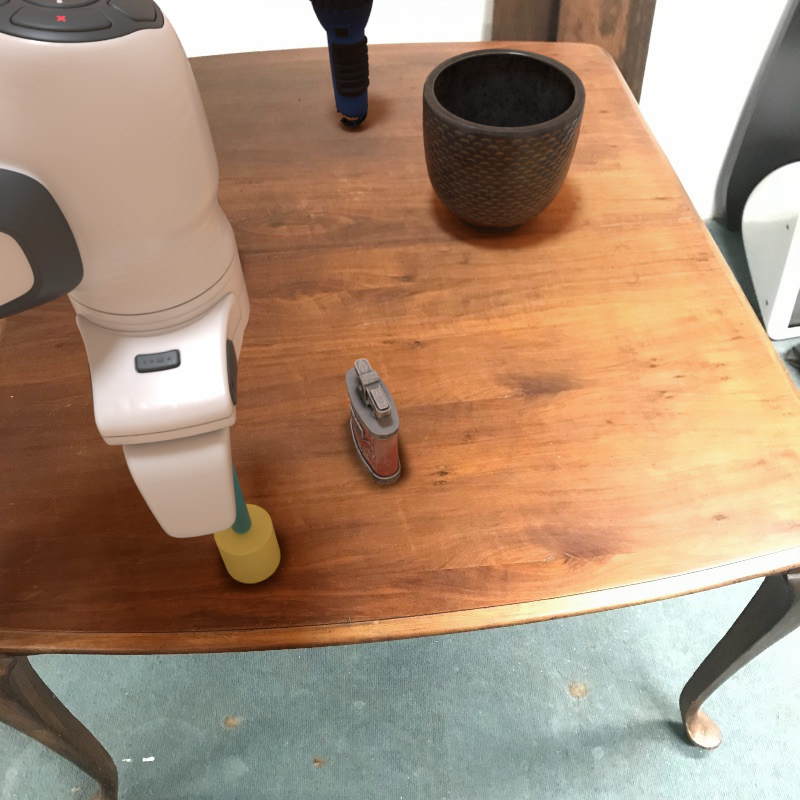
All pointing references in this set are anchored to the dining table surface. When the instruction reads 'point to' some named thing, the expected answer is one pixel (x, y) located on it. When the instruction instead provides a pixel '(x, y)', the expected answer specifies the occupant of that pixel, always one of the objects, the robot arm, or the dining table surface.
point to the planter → (500, 134)
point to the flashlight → (347, 54)
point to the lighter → (373, 422)
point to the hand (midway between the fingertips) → (214, 445)
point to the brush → (248, 541)
